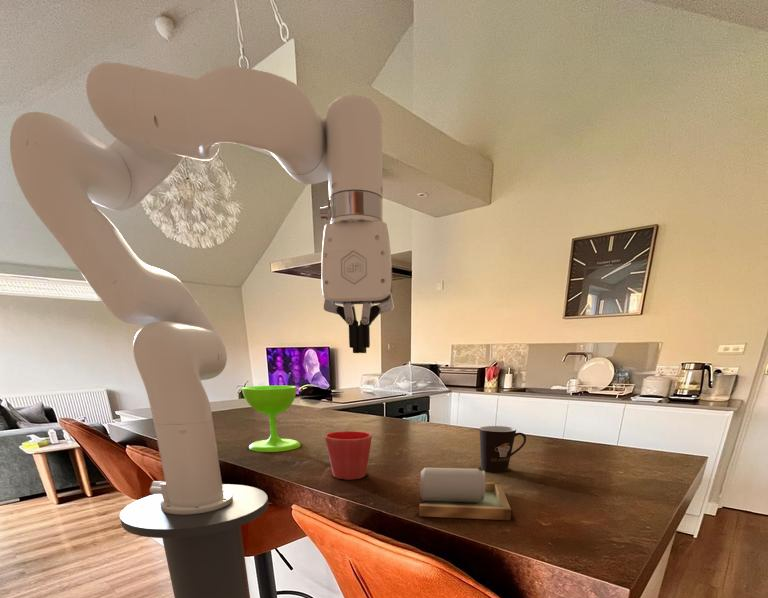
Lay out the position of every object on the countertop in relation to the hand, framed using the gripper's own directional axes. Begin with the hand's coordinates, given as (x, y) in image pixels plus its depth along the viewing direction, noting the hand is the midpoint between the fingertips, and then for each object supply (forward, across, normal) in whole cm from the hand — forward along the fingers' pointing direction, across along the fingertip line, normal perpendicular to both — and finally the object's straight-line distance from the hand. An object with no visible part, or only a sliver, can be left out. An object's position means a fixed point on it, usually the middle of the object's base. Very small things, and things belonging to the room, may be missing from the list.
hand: (359, 352), depth 66 cm
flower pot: (+27, -8, +25) cm, 38 cm away
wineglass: (+27, -39, +56) cm, 74 cm away
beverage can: (+24, +9, +8) cm, 27 cm away
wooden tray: (+27, +18, +8) cm, 33 cm away
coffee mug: (+27, +28, +35) cm, 52 cm away
